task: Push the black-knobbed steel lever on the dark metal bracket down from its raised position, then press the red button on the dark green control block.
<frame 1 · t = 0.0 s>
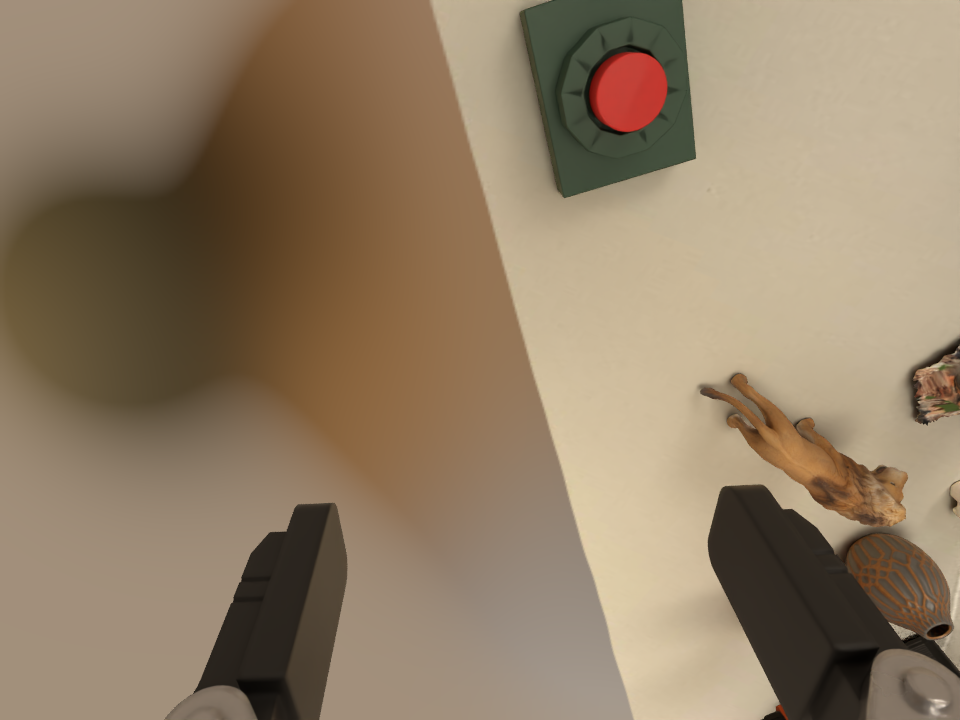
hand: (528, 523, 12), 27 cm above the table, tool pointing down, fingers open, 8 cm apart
vase: (867, 546, 53), on the table
button: (627, 92, 28), point 4 cm above the table, slide at 0.1 cm
graphics card box: (859, 671, 64), on the table
lion figurine: (775, 416, 45), on the table
button block: (606, 86, 32), on the table
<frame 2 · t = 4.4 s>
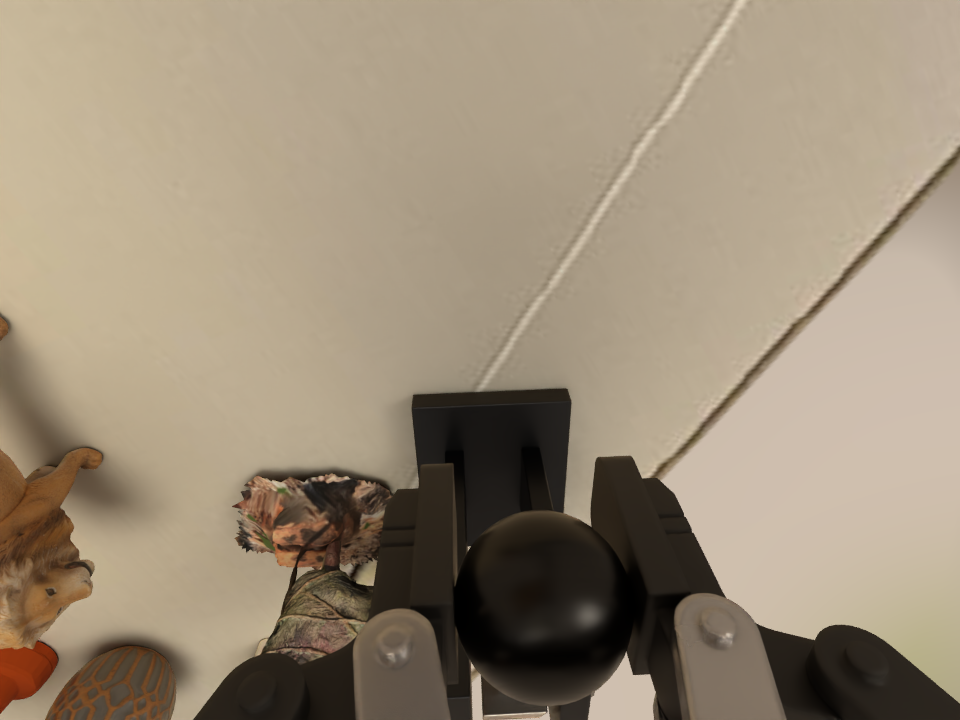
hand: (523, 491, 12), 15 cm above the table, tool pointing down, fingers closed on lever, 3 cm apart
vase: (140, 660, 39), on the table
bracket: (491, 466, 31), on the table
lever: (521, 653, 15), point 15 cm above the table, hinge at 25.0°, touching gripper
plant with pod: (337, 517, 33), on the table
lion figurine: (52, 419, 28), on the table
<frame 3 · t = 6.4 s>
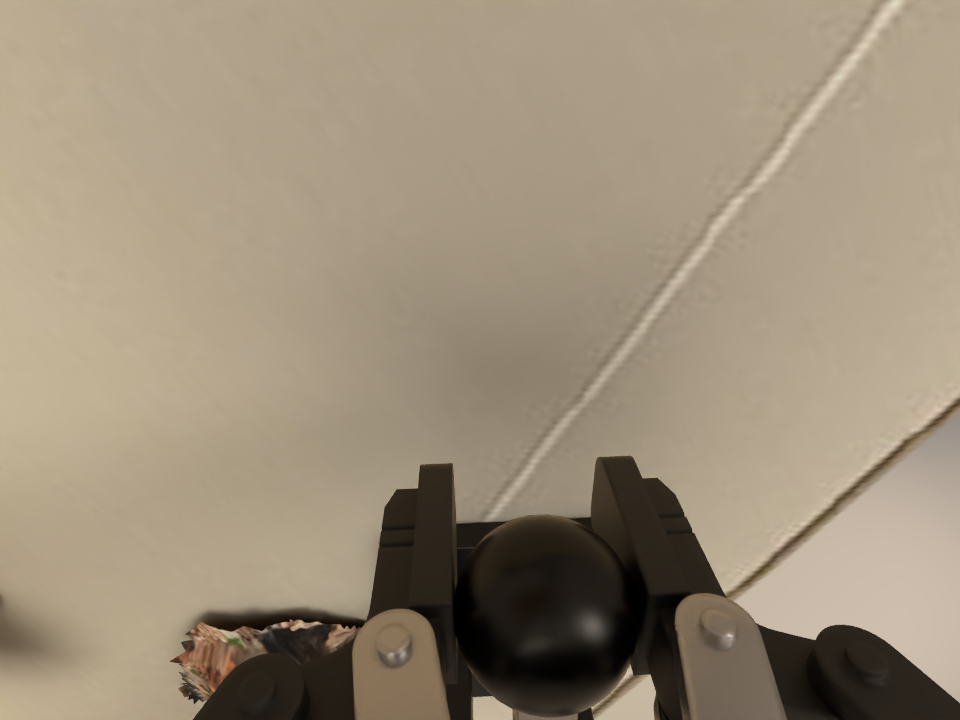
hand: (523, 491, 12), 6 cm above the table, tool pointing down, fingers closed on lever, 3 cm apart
bracket: (503, 603, 24), on the table
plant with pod: (308, 658, 26), on the table
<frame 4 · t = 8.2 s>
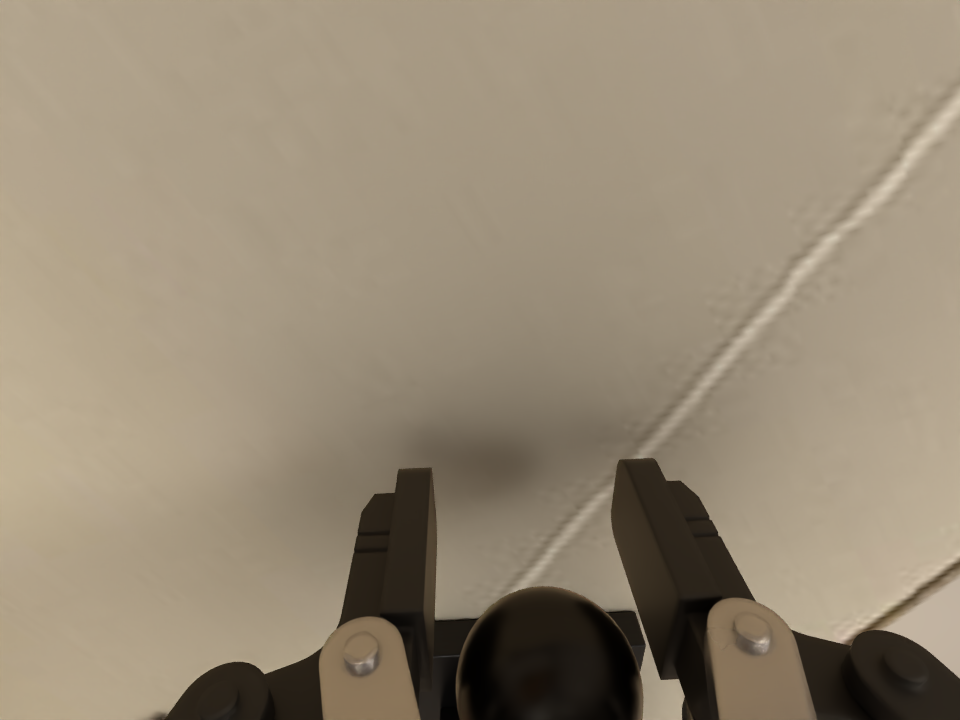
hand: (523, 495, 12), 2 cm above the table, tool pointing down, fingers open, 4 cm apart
bracket: (511, 702, 20), on the table
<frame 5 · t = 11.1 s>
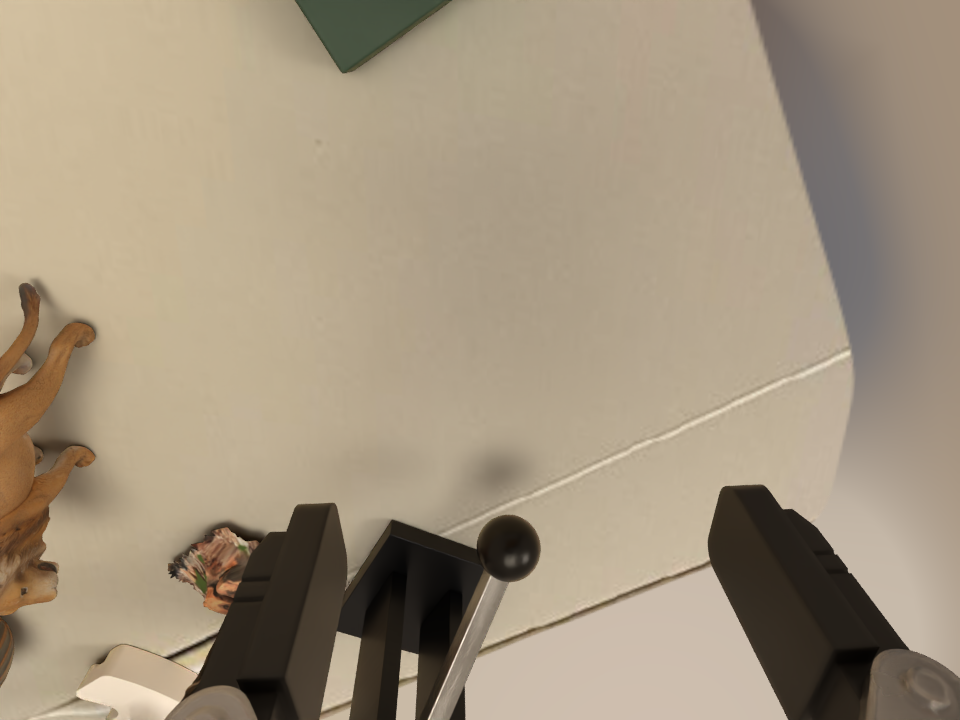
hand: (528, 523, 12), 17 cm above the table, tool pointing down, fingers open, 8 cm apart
joystick: (162, 689, 42), on the table
bracket: (414, 586, 38), on the table
lever: (456, 667, 27), point 9 cm above the table, hinge at -28.3°
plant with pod: (266, 575, 37), on the table
lion figurine: (69, 413, 30), on the table
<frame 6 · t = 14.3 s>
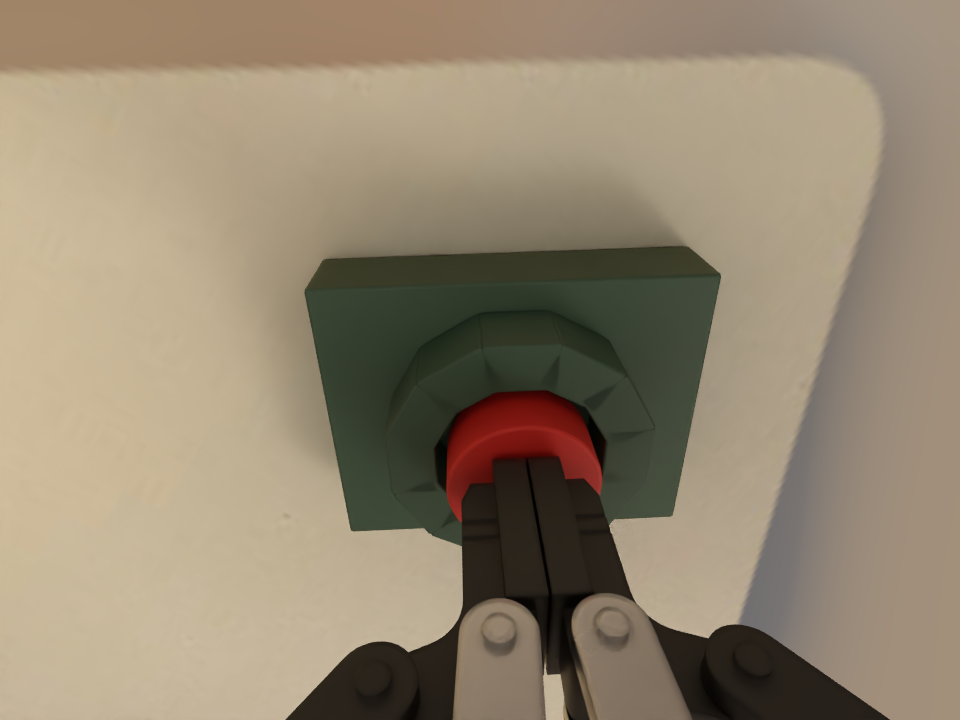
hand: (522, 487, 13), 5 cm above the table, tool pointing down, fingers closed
button: (521, 465, 13), point 4 cm above the table, slide at -0.3 cm, touching gripper
button block: (507, 377, 17), on the table
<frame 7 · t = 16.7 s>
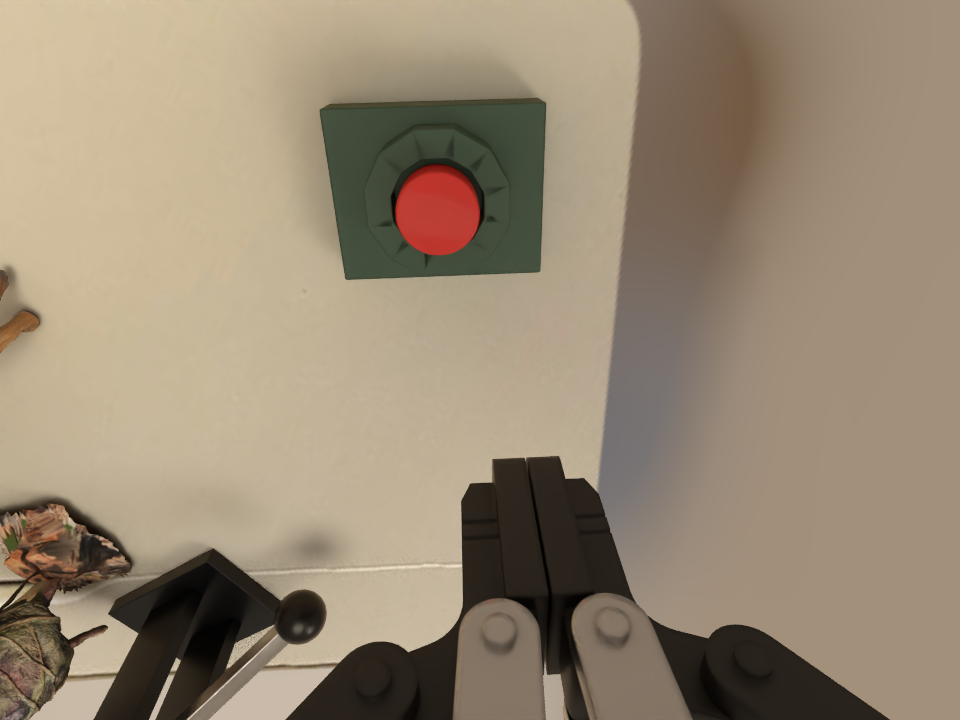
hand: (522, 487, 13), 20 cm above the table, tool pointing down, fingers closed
button: (438, 210, 24), point 4 cm above the table, slide at 0.1 cm
bracket: (203, 603, 43), on the table
lever: (217, 694, 34), point 9 cm above the table, hinge at -28.3°
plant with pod: (73, 551, 40), on the table
button block: (439, 187, 28), on the table
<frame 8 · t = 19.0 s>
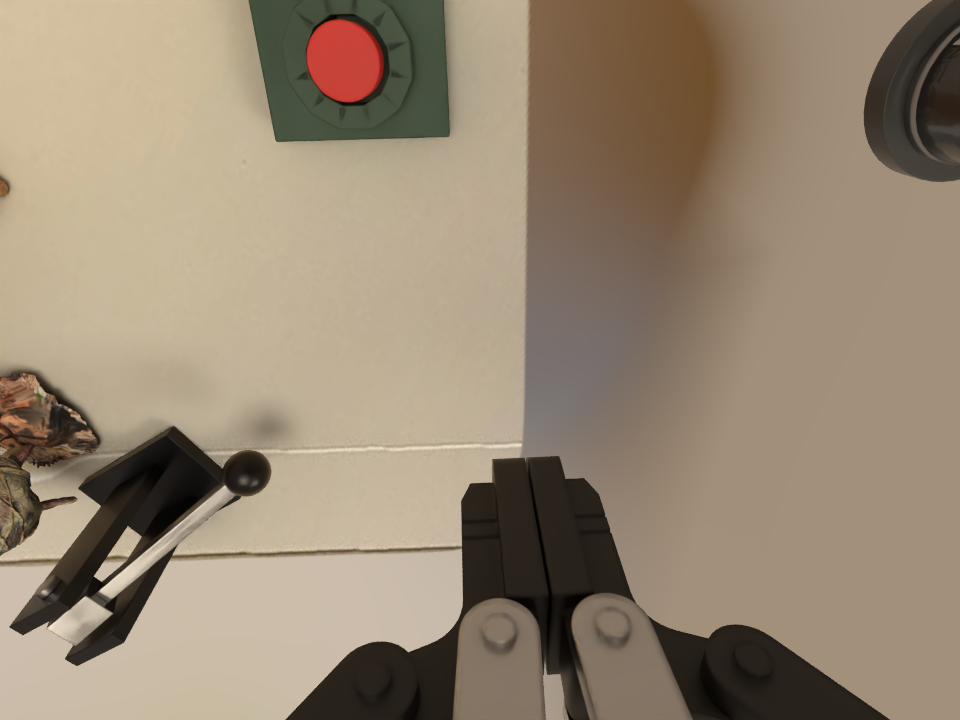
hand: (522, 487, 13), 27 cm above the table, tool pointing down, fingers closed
button: (346, 61, 28), point 4 cm above the table, slide at 0.1 cm
bracket: (166, 483, 47), on the table
lever: (169, 537, 38), point 9 cm above the table, hinge at -28.3°
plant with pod: (45, 427, 44), on the table
button block: (359, 59, 32), on the table
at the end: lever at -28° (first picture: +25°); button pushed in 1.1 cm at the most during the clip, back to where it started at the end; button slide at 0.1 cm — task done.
